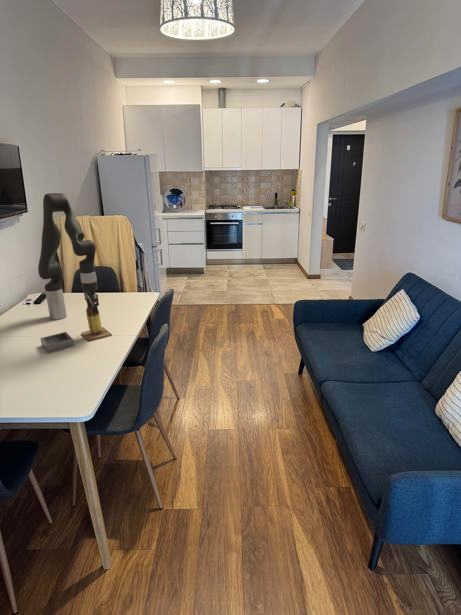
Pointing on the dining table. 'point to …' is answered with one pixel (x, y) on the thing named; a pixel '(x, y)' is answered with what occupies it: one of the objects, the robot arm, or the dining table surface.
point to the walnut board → (95, 337)
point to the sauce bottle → (93, 319)
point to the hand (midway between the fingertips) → (93, 310)
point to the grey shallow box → (57, 342)
